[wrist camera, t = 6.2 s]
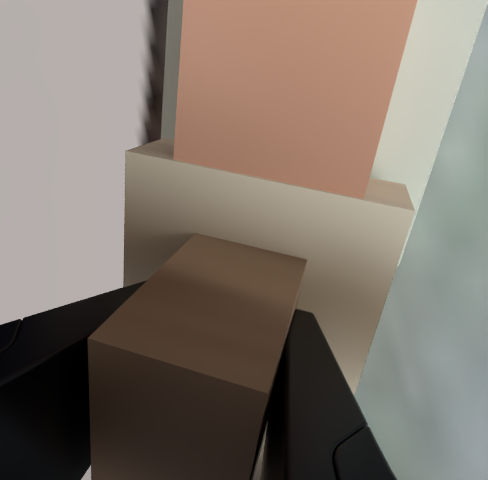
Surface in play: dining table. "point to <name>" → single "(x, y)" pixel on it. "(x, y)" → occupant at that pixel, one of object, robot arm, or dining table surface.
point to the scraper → (227, 309)
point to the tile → (289, 87)
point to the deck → (404, 93)
